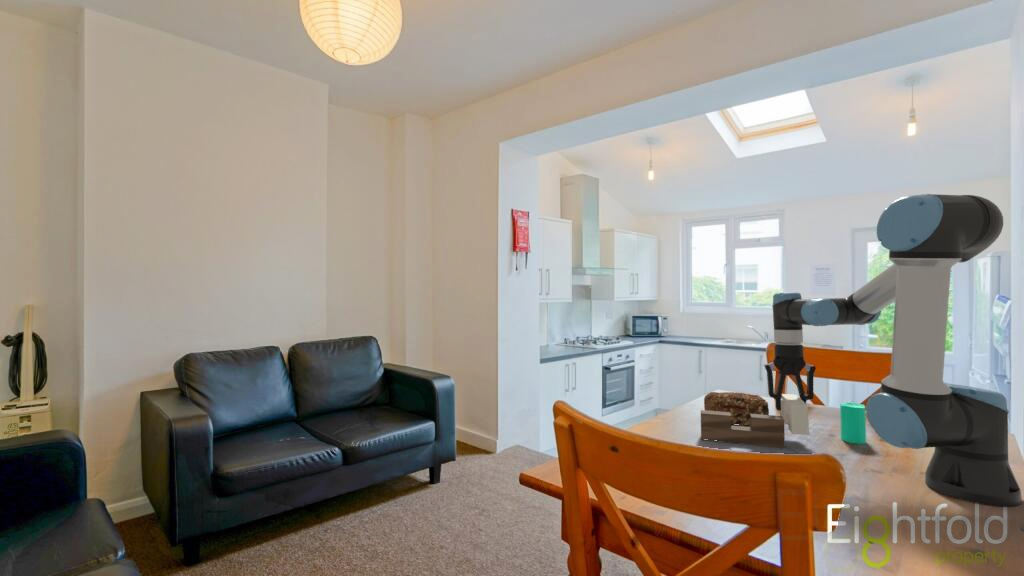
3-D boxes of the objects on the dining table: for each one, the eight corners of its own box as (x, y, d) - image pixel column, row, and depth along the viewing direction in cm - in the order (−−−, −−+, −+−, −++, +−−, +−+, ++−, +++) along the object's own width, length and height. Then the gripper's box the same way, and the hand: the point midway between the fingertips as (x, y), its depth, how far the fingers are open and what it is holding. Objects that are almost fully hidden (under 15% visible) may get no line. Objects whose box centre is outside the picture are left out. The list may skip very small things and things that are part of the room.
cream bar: (809, 435, 128) (807, 405, 128) (792, 433, 129) (791, 404, 130) (797, 421, 143) (796, 394, 143) (782, 420, 144) (781, 393, 145)
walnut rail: (784, 447, 133) (784, 419, 133) (701, 439, 141) (700, 413, 141) (782, 443, 137) (781, 416, 137) (701, 436, 145) (700, 410, 145)
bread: (709, 425, 157) (708, 395, 157) (703, 416, 167) (703, 388, 168) (770, 428, 153) (769, 397, 153) (760, 419, 163) (760, 390, 163)
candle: (857, 437, 142) (857, 397, 142) (870, 443, 136) (870, 402, 136) (836, 437, 142) (835, 397, 142) (848, 443, 136) (848, 402, 136)
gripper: (818, 343, 142) (821, 421, 141) (755, 342, 148) (757, 417, 147) (824, 345, 135) (828, 427, 134) (758, 344, 141) (761, 422, 140)
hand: (791, 421), depth 141 cm, fingers closed on cream bar, 4 cm apart
